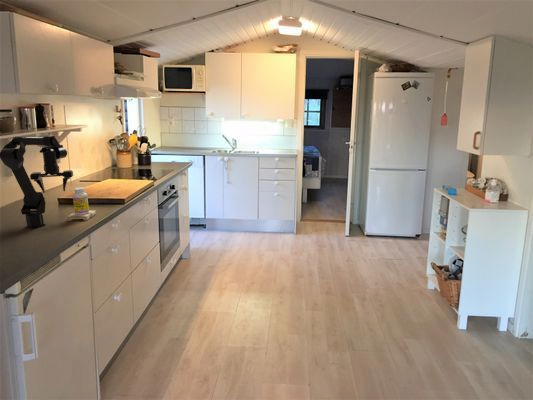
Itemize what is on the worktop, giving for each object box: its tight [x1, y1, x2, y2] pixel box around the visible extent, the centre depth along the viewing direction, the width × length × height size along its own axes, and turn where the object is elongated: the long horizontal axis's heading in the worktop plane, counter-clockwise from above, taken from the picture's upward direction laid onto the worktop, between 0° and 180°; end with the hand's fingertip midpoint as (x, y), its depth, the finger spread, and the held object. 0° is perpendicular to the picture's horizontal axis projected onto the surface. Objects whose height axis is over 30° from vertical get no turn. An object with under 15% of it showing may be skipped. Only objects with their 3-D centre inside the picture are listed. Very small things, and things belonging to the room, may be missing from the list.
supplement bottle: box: [72, 186, 90, 215], centre depth 218 cm, size 7×7×13 cm
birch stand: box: [66, 209, 98, 222], centre depth 220 cm, size 12×10×2 cm
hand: (54, 191), depth 219 cm, fingers open, 9 cm apart
